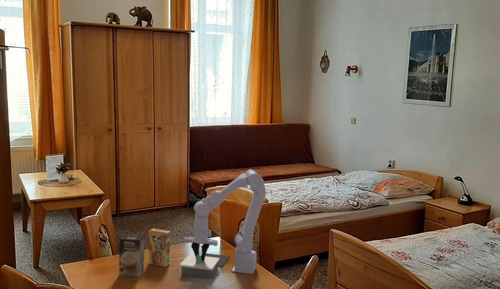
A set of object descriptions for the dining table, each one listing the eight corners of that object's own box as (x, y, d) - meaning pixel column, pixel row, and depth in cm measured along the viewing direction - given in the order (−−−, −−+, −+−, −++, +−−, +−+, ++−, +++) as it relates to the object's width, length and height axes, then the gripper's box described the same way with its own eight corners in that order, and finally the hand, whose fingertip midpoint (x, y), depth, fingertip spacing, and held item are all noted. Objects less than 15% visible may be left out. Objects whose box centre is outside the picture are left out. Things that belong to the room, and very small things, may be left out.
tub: (217, 268, 207) (218, 260, 206) (210, 278, 196) (211, 269, 196) (189, 265, 209) (190, 256, 209) (181, 275, 199) (181, 266, 198)
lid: (219, 261, 207) (219, 250, 206) (211, 271, 195) (212, 260, 194) (189, 257, 209) (189, 246, 209) (179, 267, 198) (180, 256, 197)
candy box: (170, 263, 210) (170, 230, 208) (165, 267, 206) (166, 233, 204) (153, 260, 213) (153, 228, 211) (148, 263, 209) (148, 230, 207)
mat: (229, 256, 221) (229, 256, 221) (222, 267, 208) (222, 266, 208) (197, 253, 224) (197, 252, 224) (188, 263, 212) (188, 262, 211)
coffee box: (118, 275, 196) (118, 238, 193) (123, 269, 202) (123, 233, 200) (139, 277, 195) (139, 240, 192) (144, 271, 201) (144, 235, 199)
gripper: (220, 228, 202) (219, 258, 204) (188, 224, 205) (187, 254, 207) (215, 233, 196) (214, 264, 198) (182, 229, 198) (181, 260, 200)
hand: (200, 259), depth 202 cm, fingers closed on lid
